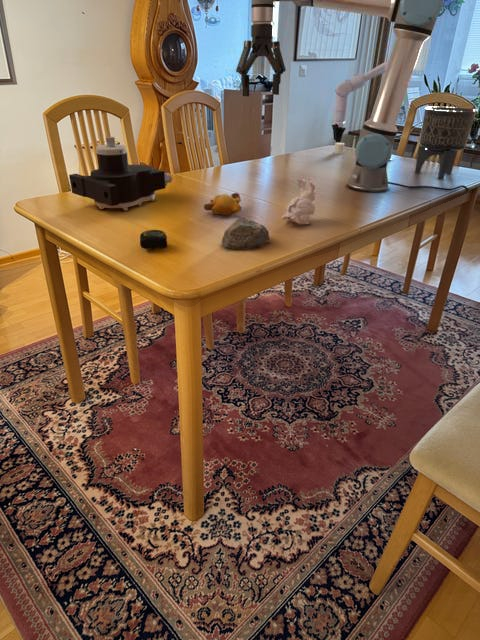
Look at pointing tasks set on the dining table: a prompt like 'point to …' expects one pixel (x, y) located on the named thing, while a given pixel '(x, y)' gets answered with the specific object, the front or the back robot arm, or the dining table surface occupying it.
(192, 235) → the dining table surface
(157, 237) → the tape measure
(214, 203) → the toy
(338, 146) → the canister
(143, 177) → the mechanical component
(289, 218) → the figurine
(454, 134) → the planter
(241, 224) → the rock
